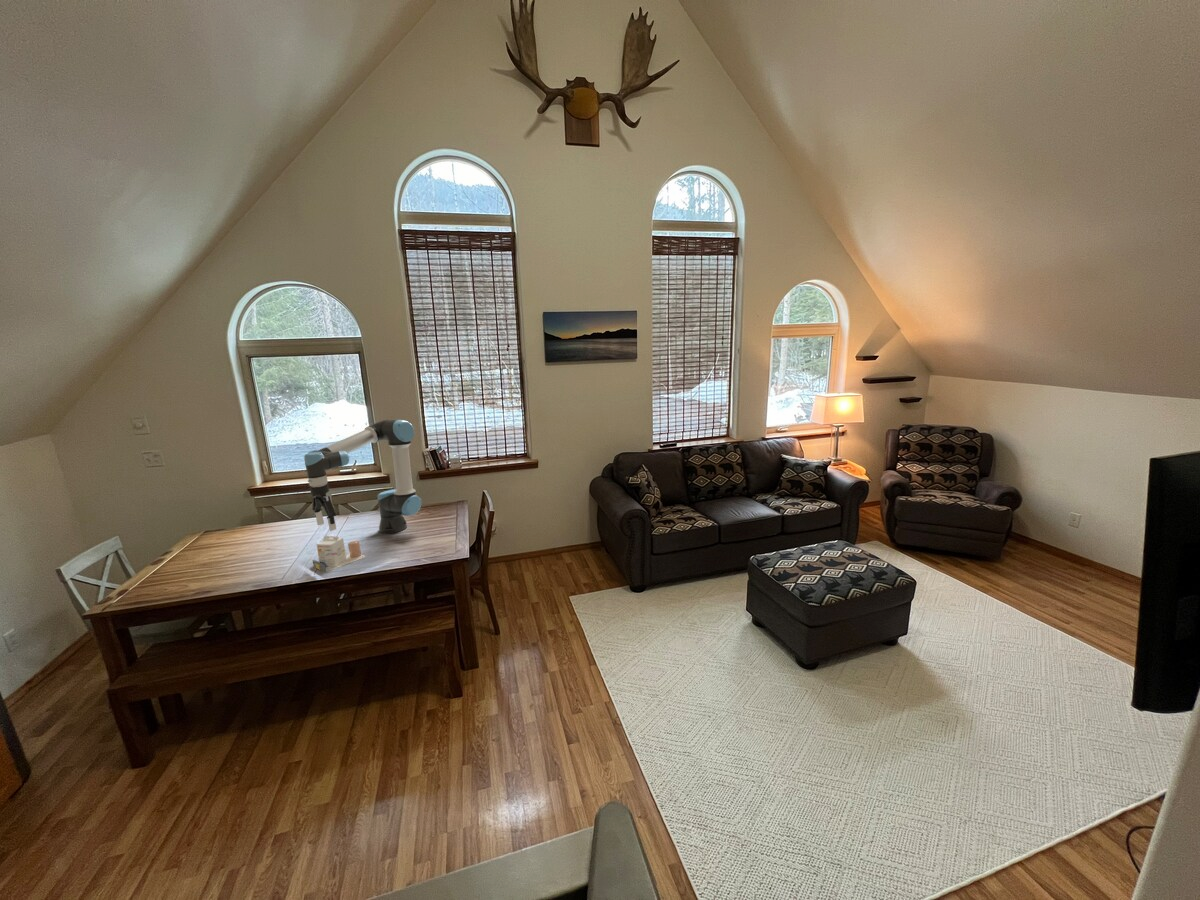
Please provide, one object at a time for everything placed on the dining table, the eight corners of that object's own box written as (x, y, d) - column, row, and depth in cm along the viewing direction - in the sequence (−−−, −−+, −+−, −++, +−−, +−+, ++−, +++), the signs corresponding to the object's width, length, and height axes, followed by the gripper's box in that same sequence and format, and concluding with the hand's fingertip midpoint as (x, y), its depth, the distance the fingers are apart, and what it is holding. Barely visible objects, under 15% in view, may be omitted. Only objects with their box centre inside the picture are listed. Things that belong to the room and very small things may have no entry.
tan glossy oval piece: (358, 552, 243) (356, 540, 241) (363, 555, 240) (360, 542, 238) (348, 556, 239) (346, 543, 238) (353, 558, 236) (350, 545, 235)
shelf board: (355, 554, 245) (354, 545, 244) (366, 559, 238) (365, 551, 237) (313, 569, 230) (311, 560, 229) (323, 575, 222) (322, 566, 222)
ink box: (319, 566, 229) (314, 540, 226) (331, 559, 237) (326, 534, 234) (335, 567, 227) (330, 541, 224) (347, 559, 235) (342, 534, 233)
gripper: (299, 483, 228) (307, 524, 233) (321, 491, 213) (330, 535, 218) (316, 479, 234) (324, 520, 239) (338, 486, 219) (346, 529, 223)
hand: (326, 527), depth 228 cm, fingers open, 13 cm apart
